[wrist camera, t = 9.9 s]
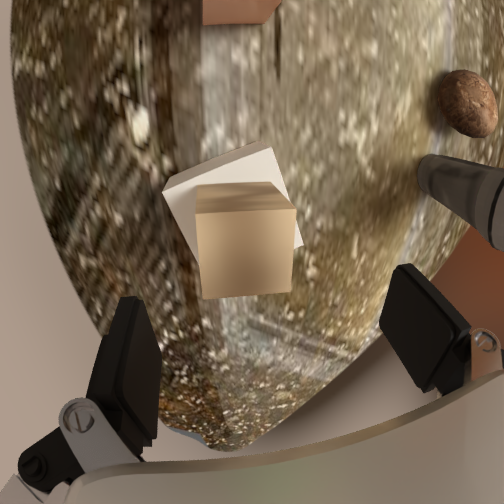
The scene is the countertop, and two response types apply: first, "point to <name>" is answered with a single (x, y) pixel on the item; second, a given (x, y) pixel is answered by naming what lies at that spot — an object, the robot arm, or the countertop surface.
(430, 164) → the beverage cup
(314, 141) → the countertop surface
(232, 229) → the oak block
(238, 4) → the terracotta block
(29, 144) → the countertop surface
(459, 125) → the mushroom
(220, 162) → the white block
